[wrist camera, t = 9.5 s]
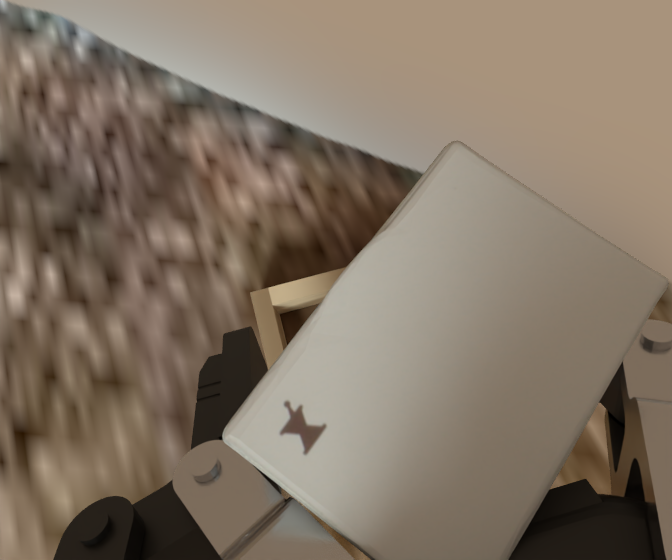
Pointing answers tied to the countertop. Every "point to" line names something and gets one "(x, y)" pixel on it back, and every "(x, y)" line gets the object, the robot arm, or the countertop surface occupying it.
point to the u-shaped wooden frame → (287, 308)
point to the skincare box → (448, 368)
